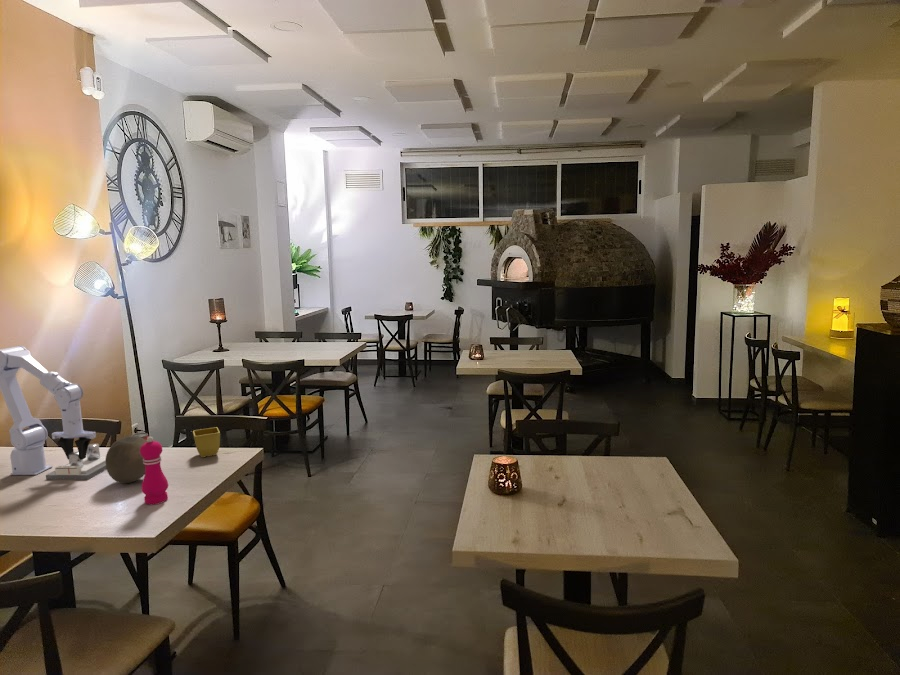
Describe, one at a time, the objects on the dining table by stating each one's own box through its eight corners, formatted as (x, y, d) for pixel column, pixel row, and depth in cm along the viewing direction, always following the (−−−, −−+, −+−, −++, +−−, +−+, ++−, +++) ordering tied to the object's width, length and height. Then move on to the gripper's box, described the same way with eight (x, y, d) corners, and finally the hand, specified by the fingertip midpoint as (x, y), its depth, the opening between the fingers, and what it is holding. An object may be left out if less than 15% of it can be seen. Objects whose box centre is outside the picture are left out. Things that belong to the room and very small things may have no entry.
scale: (46, 479, 200) (44, 467, 199) (81, 461, 217) (79, 450, 216) (88, 479, 199) (87, 467, 198) (120, 461, 216) (118, 450, 215)
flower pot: (194, 453, 223) (192, 430, 221) (219, 449, 227) (217, 426, 225) (196, 460, 215) (194, 436, 214) (222, 456, 219) (220, 432, 218)
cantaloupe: (112, 493, 186) (107, 447, 184) (104, 480, 197) (99, 437, 195) (161, 481, 195) (156, 437, 193) (150, 470, 206) (146, 428, 204)
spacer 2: (84, 460, 211) (83, 447, 210) (92, 456, 215) (90, 443, 214) (95, 460, 211) (93, 447, 210) (102, 456, 214) (101, 443, 214)
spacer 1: (66, 469, 202) (65, 454, 202) (76, 465, 206) (74, 451, 206) (77, 469, 202) (75, 455, 201) (86, 465, 206) (84, 451, 205)
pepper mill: (158, 506, 176) (152, 441, 173) (137, 504, 177) (130, 440, 174) (174, 496, 183) (168, 433, 180) (154, 495, 184) (147, 432, 181)
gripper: (43, 423, 199) (48, 462, 201) (84, 423, 198) (88, 462, 200) (58, 417, 206) (63, 455, 208) (98, 417, 205) (102, 455, 207)
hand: (76, 458), depth 204 cm, fingers closed on spacer 1, 4 cm apart
